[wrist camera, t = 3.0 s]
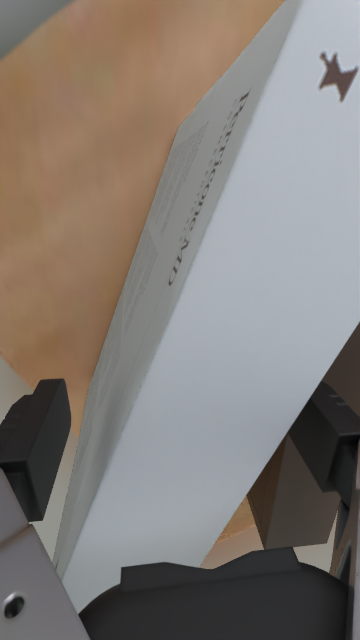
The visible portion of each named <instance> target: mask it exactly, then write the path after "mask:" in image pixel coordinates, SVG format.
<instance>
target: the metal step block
mask: <svg viewBox="0 0 360 640" xmlns="http://www.w3.org/2000/svg"><path fill="white" fill-rule="evenodd" d="M321 381H323V382H325V383H326V384H328V385H329V386H331V387H332V389H333V390H334V391H335V392H336V393H337V394H338V395H339V397H341V398H342V399H343V400H344V401H345V402H346V405H349V407H350V408H351V409H352V410H353V411H354V412H355V413H356V414H357V415H358V416H359V417H360V322H359V323H358V325H357V326H356V328H355V330H354V331H353V333H352V334H351V336H350V337H349V339H348V340H347V342H346V343H345V345H344V346H343V348H342V349H341V351H340V352H339V354H338V355H337V357H336V359H335V360H334V362H333V363H332V365H331V366H330V368H329V369H328V371H327V372H326V374H325V375H324V377H323V378H322V380H321ZM246 496H247V499H248V502H249V505H250V508H251V511H252V514H253V517H254V520H255V523H256V526H257V529H258V532H259V535H260V538H261V541H262V544H263V547H264V550H266V549H275V548H283V547H291V546H292V547H298V546H307V545H315V544H324V543H327V541H328V538H329V535H330V532H331V529H332V526H333V523H334V520H335V517H336V513H337V510H338V506H339V502H340V499H341V497H340V495H339V494H338V492H327V493H323V492H322V491H321V489H320V487H319V486H318V484H317V482H316V481H315V479H314V477H313V476H312V474H311V472H310V470H309V469H308V467H307V465H306V464H305V462H304V460H303V459H302V457H301V455H300V453H299V452H298V450H297V448H296V447H295V445H294V443H293V442H292V440H291V438H290V436H289V435H288V433H286V435H285V436H284V438H283V440H282V441H281V443H280V444H279V446H278V447H277V449H276V450H275V452H274V453H273V455H272V456H271V458H270V459H269V461H268V462H267V464H266V465H265V467H264V469H263V470H262V472H261V473H260V475H259V476H258V478H257V479H256V481H255V482H254V484H253V485H252V487H251V488H250V490H249V491H248V493H247V495H246Z"/></svg>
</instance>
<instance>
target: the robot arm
mask: <svg viewBox="0 0 360 640" xmlns="http://www.w3.org/2000/svg"><path fill="white" fill-rule="evenodd" d="M70 427H71V411H70V406H69V400H68V394H67V388H66V383H65V380H64V379H63V378H62V379H44V380H40V382H39V383H38V385H37V387H36V389H35V391H34V393H33V394H32V395H24V396H23V397H22V398H20V399H19V400H18V401H17V402H16V403H15V404H13V405H12V407H11V408H10V410H9V412H8V413H7V415H6V416H5V419H4V420H3V421H2V423H1V425H0V640H360V417H359V416H358V415H357V414H356V413H355V412H354V411H353V410H352V409H351V408H350V407H349V405H346V402H345V401H344V400H343V399H342V398H341V397H339V395H338V394H337V393H336V392H335V391H334V390H333V389H332V387H331V386H329V385H328V384H326V383H325V382H323V381H320V383H319V385H318V386H317V388H316V389H315V391H314V392H313V394H312V395H311V397H310V398H309V400H308V401H307V403H306V404H305V406H304V407H303V409H302V410H301V412H300V414H299V415H298V417H297V418H296V420H295V421H294V423H293V424H292V426H291V427H290V429H289V430H288V432H287V433H288V435H289V436H290V438H291V440H292V442H293V443H294V445H295V447H296V448H297V450H298V452H299V453H300V455H301V457H302V459H303V460H304V462H305V464H306V465H307V467H308V469H309V470H310V472H311V474H312V476H313V477H314V479H315V481H316V482H317V484H318V486H319V487H320V489H321V491H322V492H323V493H327V492H338V494H339V495H340V497H341V499H340V502H339V506H338V514H337V523H336V531H335V539H334V547H333V555H332V562H331V567H330V571H329V573H328V572H326V571H324V570H322V569H319V568H317V567H315V566H312V565H308V564H305V563H301V562H299V561H298V559H297V557H296V554H295V552H294V550H293V547H292V546H291V547H283V548H275V549H266V550H258V551H252V552H250V553H247V554H245V555H243V556H241V557H239V558H236V559H234V560H232V561H230V562H228V563H226V564H224V565H221V566H219V567H217V568H215V569H203V568H197V567H192V566H186V565H180V564H175V563H169V562H159V563H151V564H143V565H135V566H126V567H121V578H120V583H119V584H117V585H115V586H113V587H111V588H109V589H108V590H106V591H104V592H103V593H101V594H100V595H99V596H97V597H96V598H95V599H93V600H92V601H91V602H90V603H89V604H88V605H87V606H86V607H85V608H84V609H83V610H82V611H80V613H79V614H77V612H76V610H75V608H74V606H73V604H72V602H71V600H70V598H69V596H68V594H67V592H66V590H65V588H64V586H63V584H62V582H61V580H60V578H59V576H58V574H57V572H56V570H55V568H54V566H53V564H52V562H51V560H50V558H49V556H48V553H47V552H46V550H45V548H44V546H43V543H42V542H41V539H40V538H39V535H38V533H37V532H36V530H35V528H34V526H33V525H32V524H29V522H33V521H42V520H43V518H44V515H45V512H46V508H47V505H48V501H49V498H50V495H51V492H52V488H53V485H54V482H55V478H56V475H57V472H58V468H59V465H60V462H61V458H62V455H63V452H64V448H65V445H66V441H67V438H68V435H69V432H70Z"/></svg>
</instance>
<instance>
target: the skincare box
mask: <svg viewBox="0 0 360 640" xmlns="http://www.w3.org/2000/svg"><path fill="white" fill-rule="evenodd" d="M359 322H360V0H285V1H284V2H283V3H282V5H281V6H280V7H279V8H278V9H277V10H276V12H275V13H274V14H273V15H272V17H271V18H270V19H269V20H268V21H267V23H266V24H265V25H264V26H263V27H262V29H261V30H260V31H259V32H258V33H257V35H256V36H255V37H254V38H253V40H252V41H251V42H250V43H249V44H248V46H247V47H246V48H245V49H244V50H243V52H242V53H241V54H240V55H239V57H238V58H237V59H236V60H235V61H234V63H233V64H232V65H231V66H230V68H229V69H228V70H227V71H226V73H225V74H224V75H222V76H221V77H220V78H219V80H218V81H217V82H216V83H215V84H214V85H213V87H212V88H211V89H210V90H209V91H208V92H207V93H206V95H205V96H204V97H203V98H202V99H201V100H200V101H199V102H198V103H197V105H196V108H195V110H194V111H193V112H192V113H191V114H190V115H189V116H188V117H187V118H186V119H185V120H184V121H183V122H182V124H181V125H180V126H179V127H178V129H177V132H176V135H175V138H174V141H173V144H172V147H171V150H170V153H169V156H168V159H167V162H166V165H165V167H164V170H163V173H162V176H161V179H160V182H159V184H158V187H157V190H156V193H155V196H154V199H153V202H152V205H151V208H150V211H149V214H148V217H147V220H146V223H145V226H144V229H143V231H142V234H141V237H140V240H139V243H138V245H137V248H136V251H135V254H134V257H133V260H132V263H131V266H130V269H129V272H128V274H127V277H126V280H125V283H124V286H123V289H122V292H121V295H120V298H119V301H118V304H117V307H116V310H115V312H114V315H113V318H112V321H111V324H110V327H109V330H108V333H107V336H106V339H105V342H104V345H103V348H102V351H101V354H100V357H99V360H98V363H97V366H96V368H95V371H94V374H93V377H92V380H91V383H90V386H89V389H88V394H87V399H86V404H85V409H84V415H83V420H82V425H81V430H80V435H79V441H78V446H77V450H76V455H75V459H74V464H73V469H72V474H71V479H70V483H69V488H68V493H67V496H66V500H65V505H64V510H63V514H62V519H61V524H60V529H59V533H58V538H57V543H56V548H55V552H54V557H53V562H52V564H53V566H54V568H55V570H56V572H57V574H58V576H59V578H60V580H61V582H62V584H63V586H64V588H65V590H66V592H67V594H68V596H69V598H70V600H71V602H72V604H73V606H74V608H75V610H76V612H77V614H79V613H80V611H82V610H83V609H84V608H85V607H86V606H87V605H88V604H89V603H90V602H91V601H92V600H93V599H95V598H96V597H97V596H99V595H100V594H101V593H103V592H104V591H106V590H108V589H109V588H111V587H113V586H115V585H117V584H119V583H120V578H121V567H126V566H135V565H143V564H151V563H159V562H169V563H175V564H180V565H186V566H192V567H197V568H199V566H200V564H201V563H202V561H203V560H204V558H205V557H206V555H207V554H208V552H209V551H210V549H211V548H212V546H213V545H214V543H215V542H216V540H217V539H218V537H219V536H220V534H221V533H222V531H223V530H224V528H225V527H226V525H227V523H228V522H229V520H230V519H231V517H232V516H233V514H234V513H235V511H236V510H237V508H238V507H239V505H240V504H241V502H242V501H243V499H244V498H245V496H246V495H247V493H248V491H249V490H250V488H251V487H252V485H253V484H254V482H255V481H256V479H257V478H258V476H259V475H260V473H261V472H262V470H263V469H264V467H265V465H266V464H267V462H268V461H269V459H270V458H271V456H272V455H273V453H274V452H275V450H276V449H277V447H278V446H279V444H280V443H281V441H282V440H283V438H284V436H285V435H286V433H287V432H288V430H289V429H290V427H291V426H292V424H293V423H294V421H295V420H296V418H297V417H298V415H299V414H300V412H301V410H302V409H303V407H304V406H305V404H306V403H307V401H308V400H309V398H310V397H311V395H312V394H313V392H314V391H315V389H316V388H317V386H318V385H319V383H320V381H321V380H322V378H323V377H324V375H325V374H326V372H327V371H328V369H329V368H330V366H331V365H332V363H333V362H334V360H335V359H336V357H337V355H338V354H339V352H340V351H341V349H342V348H343V346H344V345H345V343H346V342H347V340H348V339H349V337H350V336H351V334H352V333H353V331H354V330H355V328H356V326H357V325H358V323H359Z"/></svg>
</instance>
